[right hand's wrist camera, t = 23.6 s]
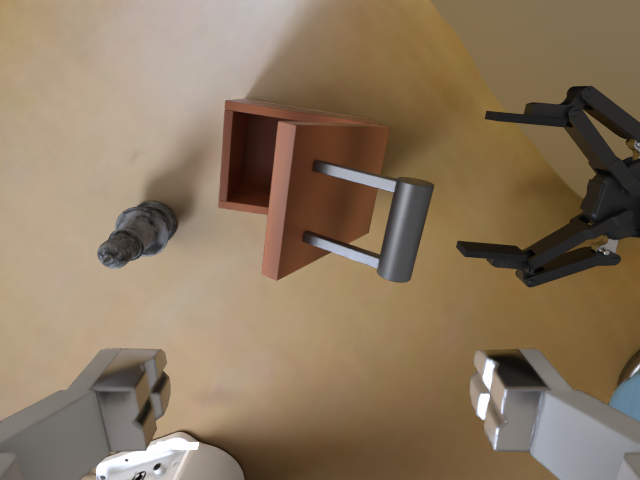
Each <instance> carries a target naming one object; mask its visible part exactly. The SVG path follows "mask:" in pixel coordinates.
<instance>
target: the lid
mask: <svg viewBox="0 0 640 480" xmlns="http://www.w3.org/2000/svg"><path fill="white" fill-rule="evenodd" d="M389 131H390V127H388V126H383V125H377V124H349V123H320V122H291V121H278V128H277V137H276V146H275V155H274V165H273V174H272V183H271V192H270V201H269V210H268V219H267V229H266V238H265V247H264V256H263V265H262V275H265V276H267V277H270V278H272V279H274V280H279V279H281V278H283V277H285V276H287V275H289V274H291V273H293V272H295V271H296V270H298V269H300V268H302V267H304V266H306V265H308V264H310V263H312V262H314V261H316V260H317V259H319V258H321V257H323V256H325V255H327V254H329V253H331V252H333V253H336V254H338V255H341V256H344V257H347V258H350V259H352V260H355V261H358V262H361V263H363V264H366V265H369V266H372V267H375V268H377V273H378V275H379V276H381V277H382V278H384V279H387V280H389V281H393V282H408V281H409V280H410V279H411V276H412V272H413V268H414V264H415V260H416V256H417V252H418V248H419V244H420V240H421V236H422V232H423V228H424V224H425V220H426V216H427V212H428V208H429V204H430V200H431V196H432V193H433V189H434V185H433V184H432V183H430V182H427V181H424V180H420V179H415V178H408V177H399V178H397V179H396V178H391V177H387V176H383V175H381V170H382V165H383V160H384V155H385V150H386V145H387V141H388V136H389ZM378 188H379V189H383V190H386V191H390V192H394V194H393V199H392V203H391V208H390V212H389V217H388V222H387V226H386V231H385V235H384V240H383V244H382V249H381V254H380V255H379V254H376V253H373V252H370V251H367V250H364V249H362V248H359V247H356V246H353V245H350V244H348V243H350V242H352V241H354V240H356V239H358V238H360V237H362V236H363V235H365V234H367V233H369V229H370V224H371V219H372V214H373V209H374V204H375V200H376V195H377V190H378Z"/></svg>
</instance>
